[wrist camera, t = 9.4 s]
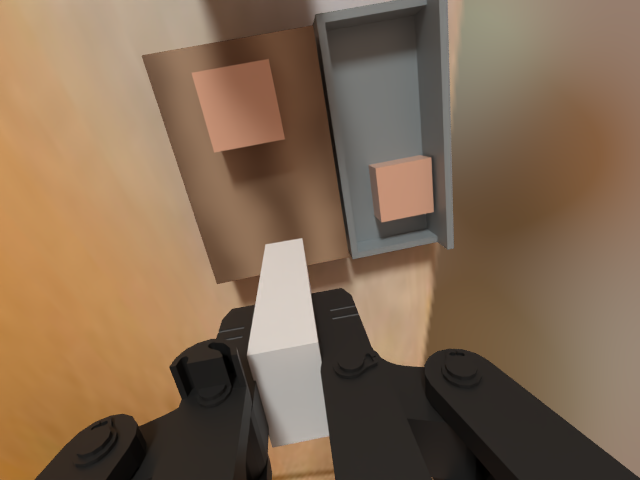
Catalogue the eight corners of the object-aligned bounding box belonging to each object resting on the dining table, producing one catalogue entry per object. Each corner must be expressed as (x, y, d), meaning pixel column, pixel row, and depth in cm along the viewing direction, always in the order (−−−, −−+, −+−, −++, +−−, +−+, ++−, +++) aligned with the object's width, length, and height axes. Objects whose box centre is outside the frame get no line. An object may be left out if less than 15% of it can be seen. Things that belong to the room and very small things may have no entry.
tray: (347, 247, 33) (357, 268, 28) (312, 26, 26) (318, 4, 21) (430, 231, 33) (453, 248, 29) (418, 7, 26) (446, -18, 22)
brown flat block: (226, 263, 32) (217, 283, 28) (165, 67, 26) (141, 55, 22) (340, 240, 33) (349, 257, 28) (308, 41, 26) (313, 25, 22)
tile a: (433, 212, 29) (422, 205, 32) (431, 157, 27) (419, 155, 30) (381, 222, 29) (374, 215, 31) (375, 168, 27) (368, 164, 30)
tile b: (221, 150, 24) (214, 152, 22) (201, 78, 22) (191, 72, 20) (285, 137, 24) (285, 139, 22) (270, 65, 23) (268, 58, 20)
